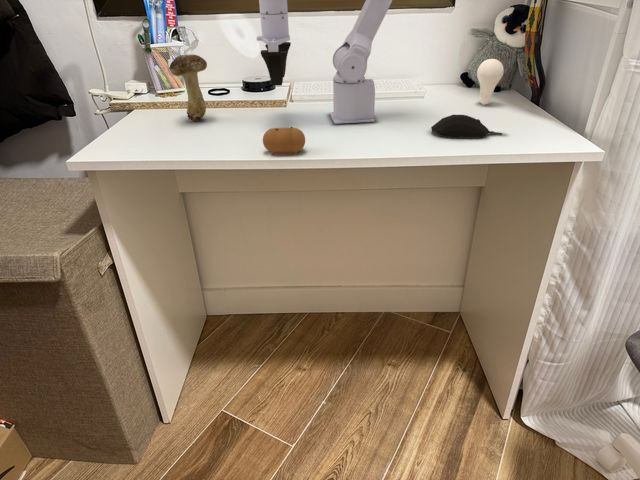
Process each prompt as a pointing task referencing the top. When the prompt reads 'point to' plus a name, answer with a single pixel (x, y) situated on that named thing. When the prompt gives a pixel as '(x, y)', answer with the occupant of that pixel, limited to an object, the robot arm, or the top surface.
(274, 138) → the potato
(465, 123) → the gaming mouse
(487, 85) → the lightbulb
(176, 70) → the mushroom
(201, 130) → the top surface
